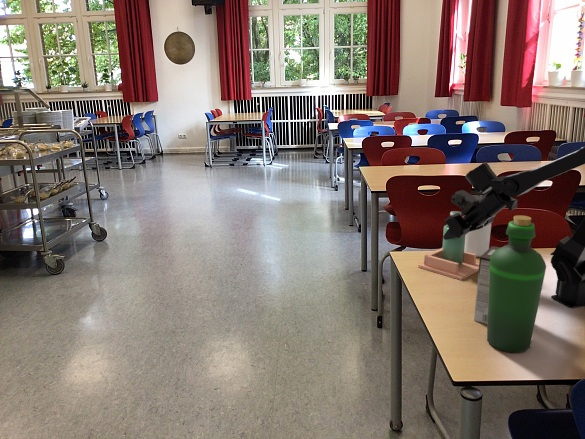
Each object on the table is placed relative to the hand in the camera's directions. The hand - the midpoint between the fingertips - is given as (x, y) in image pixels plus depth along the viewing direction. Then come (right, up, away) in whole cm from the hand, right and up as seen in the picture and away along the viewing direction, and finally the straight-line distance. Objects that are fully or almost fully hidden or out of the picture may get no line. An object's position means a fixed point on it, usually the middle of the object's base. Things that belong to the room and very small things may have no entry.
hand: (450, 235), depth 145 cm
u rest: (+1, -9, +2) cm, 10 cm away
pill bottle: (+12, -6, +14) cm, 19 cm away
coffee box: (+1, -19, -29) cm, 34 cm away
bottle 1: (+1, -8, +1) cm, 8 cm away
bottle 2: (-1, -22, -41) cm, 46 cm away
